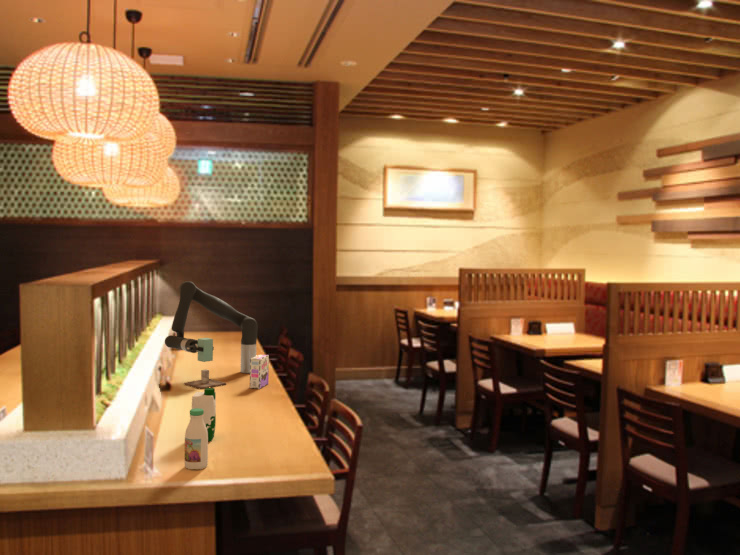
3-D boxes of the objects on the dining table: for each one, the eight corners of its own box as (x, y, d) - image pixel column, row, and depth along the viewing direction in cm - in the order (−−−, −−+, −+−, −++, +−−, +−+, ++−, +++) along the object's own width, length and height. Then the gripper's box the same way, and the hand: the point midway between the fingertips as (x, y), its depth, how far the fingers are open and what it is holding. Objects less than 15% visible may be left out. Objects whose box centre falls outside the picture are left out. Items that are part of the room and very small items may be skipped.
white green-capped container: (213, 442, 246) (213, 391, 245) (189, 442, 245) (190, 391, 244) (216, 435, 254) (217, 386, 254) (193, 435, 254) (194, 386, 253)
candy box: (259, 389, 338) (260, 358, 338) (249, 388, 340) (249, 358, 339) (268, 384, 352) (269, 354, 351) (258, 383, 353) (259, 354, 352)
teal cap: (206, 359, 350) (206, 337, 349) (212, 360, 346) (213, 338, 345) (197, 360, 346) (197, 338, 345) (203, 361, 342) (204, 339, 341)
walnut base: (208, 380, 358) (209, 366, 357) (226, 384, 347) (226, 370, 347) (184, 384, 346) (184, 370, 345) (201, 389, 335) (201, 374, 335)
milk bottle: (197, 461, 224) (198, 405, 223) (212, 466, 219) (213, 409, 218) (179, 467, 217) (180, 409, 216) (194, 472, 213) (195, 413, 212)
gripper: (179, 340, 349) (196, 343, 338) (201, 337, 360) (219, 341, 349) (179, 353, 350) (196, 357, 339) (201, 350, 360) (219, 354, 349)
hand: (208, 349), depth 344 cm, fingers closed on teal cap, 5 cm apart
